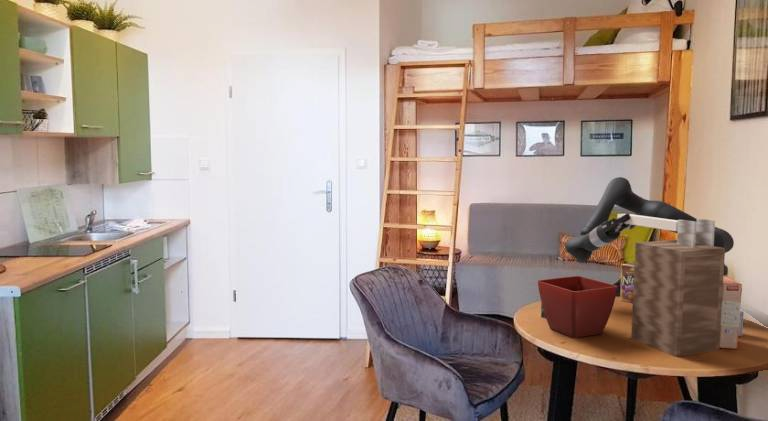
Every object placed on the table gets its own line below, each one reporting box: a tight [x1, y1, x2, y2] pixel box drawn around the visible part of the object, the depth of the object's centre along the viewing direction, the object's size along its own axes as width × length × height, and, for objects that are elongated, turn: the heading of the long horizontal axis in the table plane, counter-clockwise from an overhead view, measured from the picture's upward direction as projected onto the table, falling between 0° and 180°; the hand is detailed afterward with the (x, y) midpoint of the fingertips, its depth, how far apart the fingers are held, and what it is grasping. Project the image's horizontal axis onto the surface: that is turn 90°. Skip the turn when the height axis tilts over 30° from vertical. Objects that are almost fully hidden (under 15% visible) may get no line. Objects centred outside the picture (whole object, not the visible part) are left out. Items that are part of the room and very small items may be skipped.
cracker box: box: [719, 276, 743, 350], centre depth 187 cm, size 14×6×21 cm, turn 170°
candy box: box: [619, 263, 635, 304], centre depth 238 cm, size 9×4×15 cm, turn 35°
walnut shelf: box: [630, 218, 726, 357], centre depth 184 cm, size 18×18×40 cm
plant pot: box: [537, 275, 619, 338], centre depth 198 cm, size 19×19×17 cm
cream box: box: [616, 213, 678, 232], centre depth 199 cm, size 26×4×3 cm, turn 20°
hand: (634, 215), depth 205 cm, fingers closed on cream box, 4 cm apart
